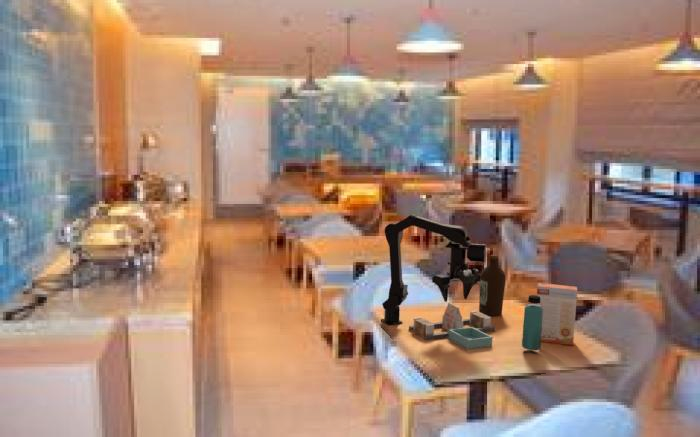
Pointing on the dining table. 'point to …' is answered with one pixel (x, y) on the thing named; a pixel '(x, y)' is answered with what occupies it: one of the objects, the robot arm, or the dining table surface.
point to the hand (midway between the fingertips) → (455, 300)
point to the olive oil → (492, 288)
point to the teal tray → (470, 338)
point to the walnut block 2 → (477, 319)
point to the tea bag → (451, 317)
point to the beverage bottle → (532, 324)
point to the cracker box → (557, 312)
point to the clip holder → (458, 324)
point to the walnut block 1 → (421, 326)
